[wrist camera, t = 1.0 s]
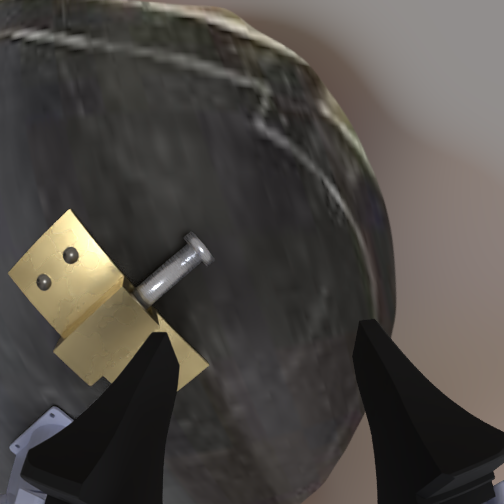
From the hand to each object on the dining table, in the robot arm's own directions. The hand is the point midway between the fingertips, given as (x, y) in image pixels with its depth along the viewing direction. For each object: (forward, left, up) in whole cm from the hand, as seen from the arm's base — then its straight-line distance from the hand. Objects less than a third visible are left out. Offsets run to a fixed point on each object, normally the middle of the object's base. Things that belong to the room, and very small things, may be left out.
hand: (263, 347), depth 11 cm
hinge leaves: (-8, +2, -13) cm, 15 cm away
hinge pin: (-3, +2, -13) cm, 13 cm away
